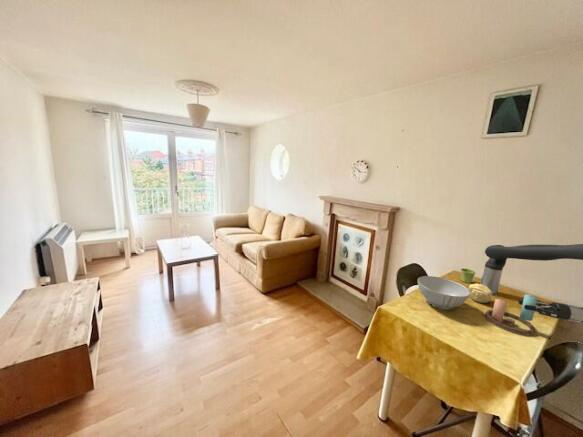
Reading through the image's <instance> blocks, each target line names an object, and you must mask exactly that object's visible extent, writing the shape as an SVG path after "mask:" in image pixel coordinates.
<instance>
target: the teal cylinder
mask: <svg viewBox="0 0 583 437" xmlns="http://www.w3.org/2000/svg"><path fill="white" fill-rule="evenodd" d="M522 300H523V304H522V305H521V308H520V313H519V317H521V318H523V319H525V320H527V321H528V322H531V321H533V318H534V316H535V315H534V314H535V311H532V310H527V309H525V308H524V306H525V305H531V306H535V307H536V303H537V300H538V297H537V296H535V295H533V294H528V293H527V294H524V297H523V299H522Z"/></svg>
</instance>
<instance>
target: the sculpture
mask: <svg viewBox="0 0 583 437" xmlns="http://www.w3.org/2000/svg"><path fill="white" fill-rule="evenodd" d="M468 289H469V290H470V292H471V294H470V296H469V298H471V300H472V301H475V302H477V303H481V304H486V303H489V302H490V301H491V299H492V297H493V294H492V291H491V290H490V289H489V288H488V287H487V286H484V285H482V284H480V283H478V282H477V283H469V287H468Z"/></svg>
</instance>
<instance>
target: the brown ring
mask: <svg viewBox="0 0 583 437" xmlns="http://www.w3.org/2000/svg"><path fill="white" fill-rule="evenodd" d="M492 312H493V309H487V310H486V311H485V314H484V317H485V318H486V320H487V321H488V322H489V323H491V324H492V325H494V326H495V327H497V328H500V329H501V330H504V331H507V332H509V333H513V334H518V335H521V336H532V335H533V334H534V332H535V329H536V327H535V326H534V325H533V323H531V321H528V320H525V319H523V318H521V317H520V315H516V314H514V313H511V312H508V311H505V313H504V317H503V321H502V324H501V323H499V322H497V321H496V320H494V319H492V318H491V317H492V316H490V315H492ZM516 321H519V322H520V323H522V324H524V325H525V326H527V327H528V329H519V328H515V327H514V325H515V324H516V323H515V322H516ZM503 323H504V324H503Z"/></svg>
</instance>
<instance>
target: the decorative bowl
mask: <svg viewBox="0 0 583 437" xmlns="http://www.w3.org/2000/svg"><path fill="white" fill-rule="evenodd" d="M417 285H418V289H419V291H420V294H422V296H423V297H424V298H425V299H426V300H427V302H428V301H429V302H428V303H429V304H430V305H431V304H432V305H431V306H433V305H434V306H433V307H435V306H436V307H435V308H437V307H438V309H440V310H451V309H453V308H456V307H459V306H461V305H463V304H464V303H466V302H467V301H468V299H469V298H470V294H471V292H470V290H469V287H466V286H464V285H463V284H461V283H460V282H456V281H454V280H451V279H448V278H446V277H445V278H444V277H440V276H433V275H431V276H430V275H425V276H423V275H422V276H420V277H418V278H417Z"/></svg>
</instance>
